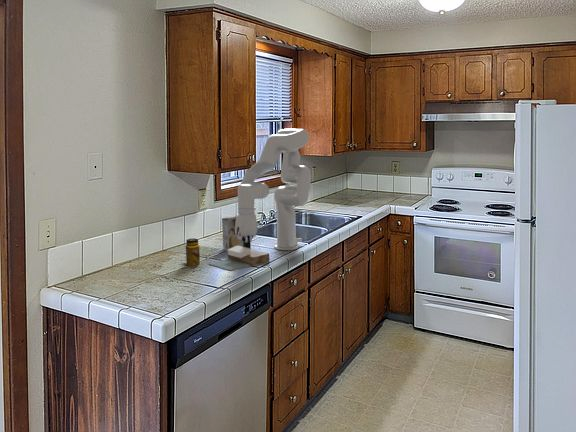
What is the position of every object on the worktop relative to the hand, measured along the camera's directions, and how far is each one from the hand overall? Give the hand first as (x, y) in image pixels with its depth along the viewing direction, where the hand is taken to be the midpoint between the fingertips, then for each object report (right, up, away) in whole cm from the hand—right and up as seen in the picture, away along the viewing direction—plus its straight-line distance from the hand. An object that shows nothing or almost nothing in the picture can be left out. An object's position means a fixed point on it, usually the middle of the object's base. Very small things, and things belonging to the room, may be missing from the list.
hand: (247, 250), depth 254 cm
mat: (-7, -6, -6) cm, 12 cm away
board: (0, -5, +1) cm, 5 cm away
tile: (-3, -2, -3) cm, 5 cm away
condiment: (-25, -7, -5) cm, 26 cm away
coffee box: (-9, -1, +25) cm, 26 cm away
